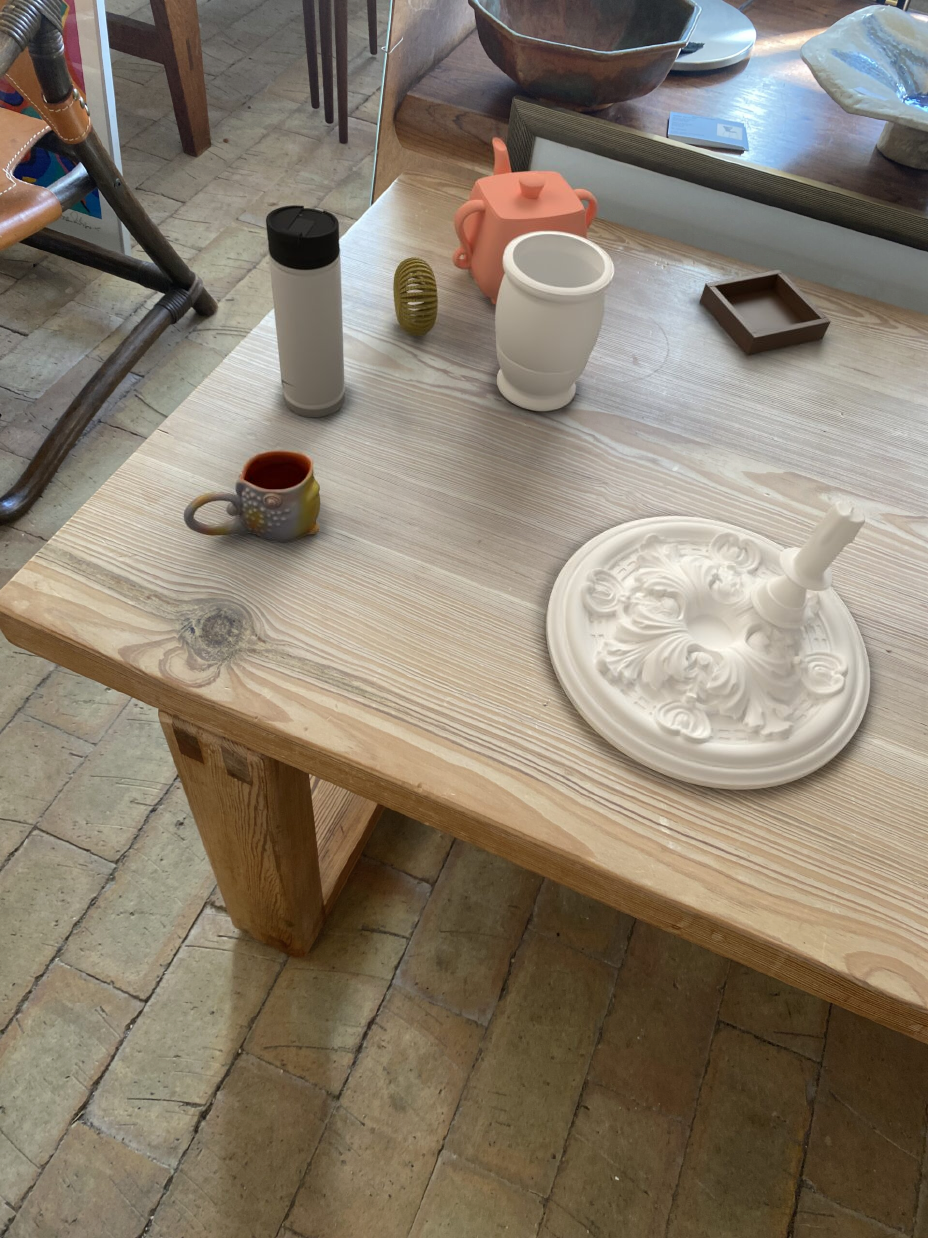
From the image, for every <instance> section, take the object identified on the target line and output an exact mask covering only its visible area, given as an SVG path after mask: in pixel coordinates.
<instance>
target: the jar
mask: <svg viewBox="0 0 928 1238" xmlns="http://www.w3.org/2000/svg"><path fill="white" fill-rule="evenodd" d="M503 268H504V271H505V274H504V276H503V279H502V282H501V285H500V289H499V293H498V298H497V303H496V305H495V312H494V313H495V314H494V328H495V337H496V338H495V349H496V357H497V361H498V366H499V368H500V369H499V370H498V372H497V375H496V385H497V388H498V391H499V392H500V394H501V395H502V396H503V397H504V398H505V399H506V400H507V401H509V402H510V403H511V404H514V405H515V406H518V407H520V408H522V409H525V410H529V411H534V412H550V411H555V410H558V409H561V408H563V407H565V406H567V405H568V404H569V403H570V402H571V401H572V400H573V398H574V397H575V395H576V390H577V385H576V382H577V380H578V379H579V378H580V377H581V375H582V374H583V372H584V370H585V369H586V366H587V364H588V362H589V359H590V357H591V354H592V352H593V351H594V348H595V346H596V343H597V341H598V339H599V335H600V332H601V329H602V326H603V325H602V324H603V320H604V315H605V306H606V291H607V289H608V288H609V287H610V286H611V283H612V281H613V277H614V274H615V265H614V262H613V260H612V258H611V256H610V255H609V254H608V253H607V251H606V250H605V249H603V248H602V247H601V246H599V245H598V244H596V243H595V242H593V241H592V240H589V238H588V239H585V238H583V237H580V236H577V235H574V234H570V233H566V232H559V231H536V232H530V233H526V234H523V235H521V236H519V237H517V238H515V239H513V240H512V241H511V242H510V243H509V244H508V245H507V247H506V248H505V251H504V255H503Z"/></svg>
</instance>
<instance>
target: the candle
mask: <svg viewBox="0 0 928 1238" xmlns="http://www.w3.org/2000/svg"><path fill="white" fill-rule="evenodd" d="M865 521H866V516H865V514H864V511H863V509H861V508H860V507H859V506H858V505H856V504H854V503H853V502H852V501H850V500H843V501H837V502H835V503H834V504H833V505H832V506H831V507H830V508H829V509H828V510H827V512H826V513H825V514H824V516H823V517H822V518H821V520H819V522H818V523H816V524H815V525H814V526H813V528H812V533H811V535H810V537H809V538H808V539H807V541H806V542H805V543H804V544H803V546H802V547H797V546H795V547H794V546H793V547H787V548H785V550H784V551H783V552H782V553H781V554H780V558H779V562H780V566H781V568H782V570H783V572H784V573H785V574H786V575H784V576H781V577H780V576H777V577H772V578H770V579H769V580H761V581H758V582H756V583H755V584H754V585H753V586H752V587H751V589H750V600H751V603H752V605H753V607H754V609H755V610H756V611H757V613H758V614H759V615H760V616H761V617H763V618H764V619H765V620H766V621H768V622H770V623H771V624H773V625H776V626H778V627H781V628H787V629H794V628H798V627H801V626H802V625H804V624H805V623H806V621H807V619H808V609H807V604H808V598H807V595H806V590H807V589H808V590H813V591H823V590H826V589H828V588H829V587H830V586H831V587H832V585H833V582H834V573H833V571H832V569H831V567H830V566H831V564H832V563H833V562H834V561H835V560H836V559H837V557H838V556H839V555H840V553H841V552H842V551H843V550H844V548H845V547H847V546H848V545H849V544H852V543H853V542H854V541H855V539H856V537H857V534H858V533H859V532H860V531H861V529H862V528H863V526H864V525H865Z"/></svg>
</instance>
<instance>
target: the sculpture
mask: <svg viewBox="0 0 928 1238" xmlns="http://www.w3.org/2000/svg"><path fill="white" fill-rule="evenodd" d="M392 285H393V288H392V289H393V302H394V303H393V304H394V309H395V316H396V320H397V322H398V324H399V326H400V328H401V329H402V330H403V331H404V332H405V333H407V334H408V335H410V336H414V337H419V336H423V335H426V334H427V333H429V332H431V330H432V329H433V328H434V326H435V323H436V321H437V318H438V317H437V316H438V310H439V308H438V307H439V305H438V304H439V299H438V298H439V296H438V286H437V281H436V276H435V273H434V271H433V269H432V267H431V266H430V264H429V263H428V262H427V261H426V260H424V259H422V258H420V257H415V256H413V257H408V258H406V259H404V260H402V261H401V262H400V263H399V264H398V265H397V267H396V268H395V271H394V276H393V284H392ZM409 291H414V292H409ZM415 291H416V292H415ZM409 303H417V304H409Z"/></svg>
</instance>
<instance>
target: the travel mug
mask: <svg viewBox="0 0 928 1238" xmlns="http://www.w3.org/2000/svg"><path fill="white" fill-rule="evenodd" d="M265 226H266V237H267V242H268V243H267V245H268V249H267V251H268V252H267V253H268V263H269V272H270V281H271V291H272V301H273V303H272V304H273V312H274V322H275V332H276V341H277V342H276V343H277V352H278V360H279V372H280V380H281V390H282V391H281V392H282V399H283V402H284V404H285V406H286V407H287V408H288V409H289V410H290V411H292V412H293V413H295V414H297V415H299V416H303V417H307V418H320V417H321V418H322V417H326V416H329V415H332V414H334V413H335V412H337V411H338V410H339V409H340V408H341V407H342V405H343V404H344V402H345V399H346V398H345V397H346V391H345V389H346V387H345V361H344V357H345V355H344V325H343V296H342V293H343V291H342V263H341V262H342V260H341V259H342V258H341V247H340V222H339V219H338V218H337V217H336V215H334V214H333V213H332V212H329V211H327V210H320V209H316V208H309V207H305V206H304V205H299V204H297V205H296V204H293V205H284V206H281V207H277V208H275V209H273V210H271V211H270V212H268V214H267V215H266V217H265Z"/></svg>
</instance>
